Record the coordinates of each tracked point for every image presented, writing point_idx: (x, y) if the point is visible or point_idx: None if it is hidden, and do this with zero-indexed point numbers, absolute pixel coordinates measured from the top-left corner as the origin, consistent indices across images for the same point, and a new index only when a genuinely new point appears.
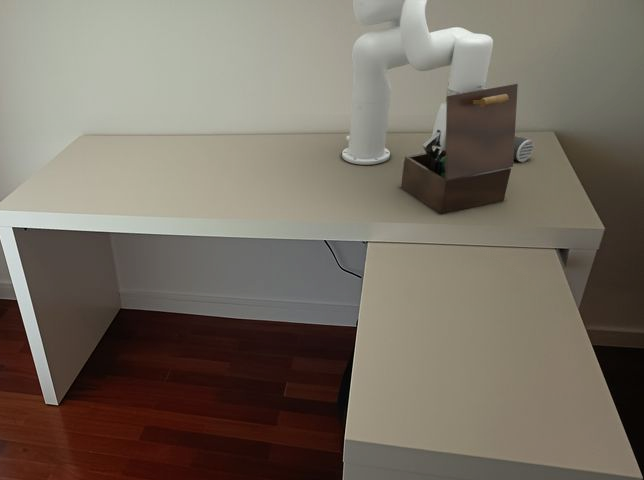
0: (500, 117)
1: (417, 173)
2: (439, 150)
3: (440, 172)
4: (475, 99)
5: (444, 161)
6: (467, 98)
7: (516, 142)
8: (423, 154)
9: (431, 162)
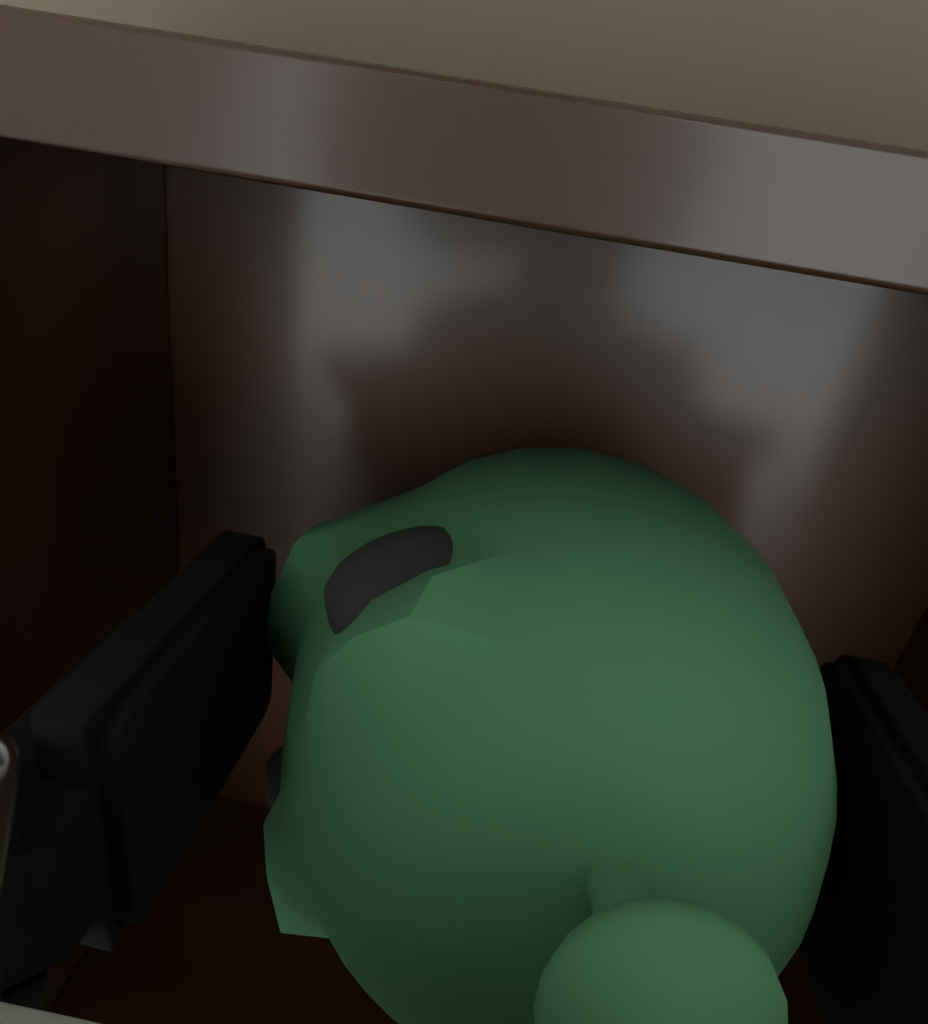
0: None
1: None
2: (846, 179)
3: (231, 763)
4: None
5: (291, 841)
6: None
7: None
8: (137, 151)
9: (21, 730)
